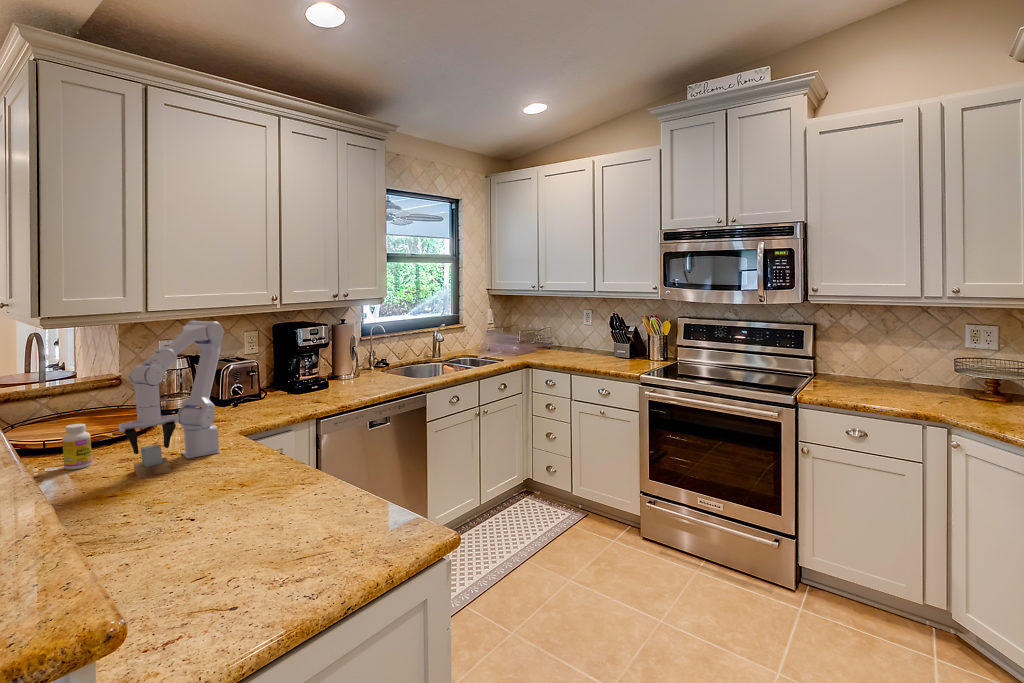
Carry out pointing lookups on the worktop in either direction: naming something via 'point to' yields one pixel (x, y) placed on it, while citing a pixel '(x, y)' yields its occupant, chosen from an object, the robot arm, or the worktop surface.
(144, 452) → the gray block
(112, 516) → the worktop surface
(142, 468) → the walnut block
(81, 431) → the supplement bottle
